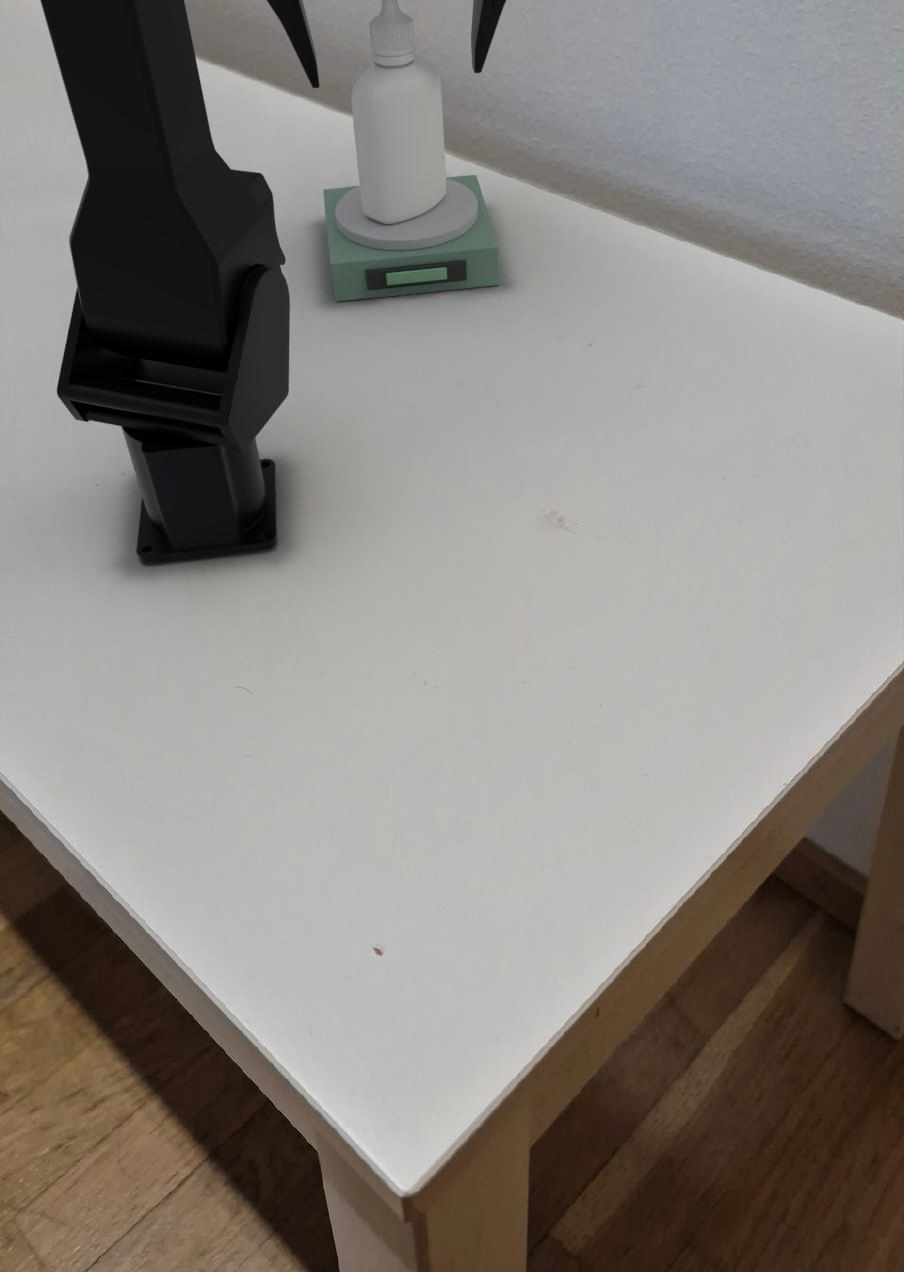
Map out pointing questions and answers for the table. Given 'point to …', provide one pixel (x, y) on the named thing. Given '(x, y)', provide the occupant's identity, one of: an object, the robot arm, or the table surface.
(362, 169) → the eye dropper bottle
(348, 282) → the kitchen scale
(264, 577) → the table surface
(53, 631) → the table surface
